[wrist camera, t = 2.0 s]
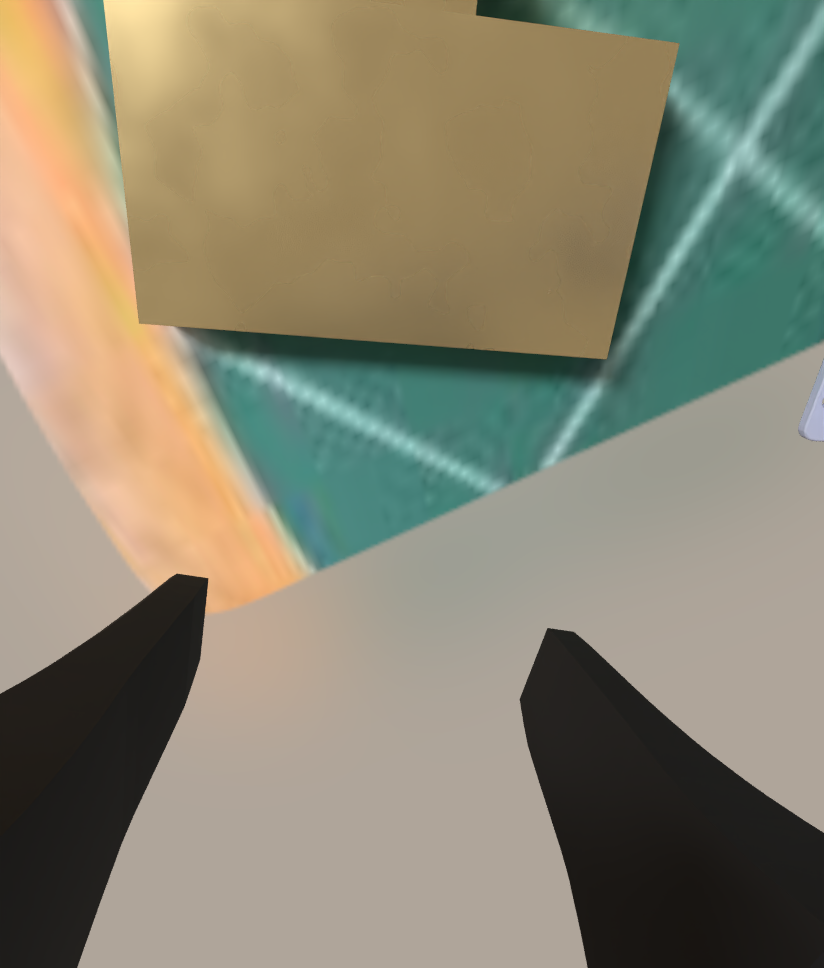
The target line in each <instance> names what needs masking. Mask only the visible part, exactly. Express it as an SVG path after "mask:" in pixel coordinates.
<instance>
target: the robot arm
mask: <svg viewBox="0 0 824 968" xmlns="http://www.w3.org/2000/svg"><path fill="white" fill-rule="evenodd" d="M823 399H824V360H823V362H822V365H821V368H820V370H819V373H818V376H817V378H816V381H815V384H814V386H813V389H812V392H811V394H810V397H809V400H808V402H807V405H806V408H805V411H804V413H803V416H802V418H801V421H800V424H799V428H798V431H799V434H800V435H801V436H802V437H804V438H806V439H808V440H812V441H824V404H823V405H822V400H823ZM207 587H208V578H203V577H196V576H189V575H182V574H176V575H174V576H172V577H171V578H169V579H168V580H167V581H166V582H164V583H163V584H162V585H161V586H159V587H158V588H157V589H156V590H154V591H153V592H152V593H151V594H149V595H148V596H147V597H146V598H145V599H143V600H142V601H141V602H139V603H138V604H137V605H136V606H134V607H133V608H132V609H130V610H129V611H128V612H126V613H125V614H124V615H122V616H121V617H119V618H118V619H117V620H115V621H114V622H113V623H111V624H110V625H109V626H107V627H106V628H104V629H103V630H102V631H101V632H99V633H98V634H96V635H95V636H93V637H92V638H90V639H89V640H87V641H86V642H84V643H83V644H81V645H80V646H78V647H77V648H75V649H74V650H72V651H71V652H69V653H68V654H66V655H65V656H64V657H62V658H60V659H59V660H57V661H56V662H54V663H53V664H51V665H49V666H48V667H46V668H44V669H43V670H41V671H39V672H38V673H36V674H35V675H33V676H31V677H29V678H28V679H26V680H24V681H23V682H21V683H19V684H17V685H15V686H14V687H12V688H10V689H8V690H6V691H5V692H3V693H1V694H0V968H77V966H78V963H79V961H80V958H81V955H82V952H83V949H84V947H85V944H86V941H87V938H88V935H89V932H90V930H91V927H92V924H93V921H94V918H95V915H96V913H97V909H98V907H99V904H100V901H101V899H102V896H103V893H104V890H105V888H106V885H107V882H108V879H109V877H110V874H111V871H112V869H113V866H114V863H115V860H116V857H117V855H118V852H119V849H120V847H121V844H122V841H123V839H124V837H125V834H126V832H127V830H128V827H129V825H130V823H131V820H132V818H133V815H134V814H135V811H136V809H137V807H138V805H139V803H140V801H141V799H142V796H143V794H144V792H145V790H146V788H147V786H148V784H149V781H150V779H151V777H152V775H153V773H154V771H155V769H156V767H157V765H158V762H159V760H160V758H161V756H162V754H163V752H164V750H165V748H166V745H167V743H168V741H169V739H170V737H171V734H172V732H173V730H174V728H175V726H176V724H177V722H178V720H179V717H180V715H181V713H182V710H183V708H184V706H185V703H186V700H187V698H188V695H189V692H190V689H191V686H192V683H193V680H194V677H195V674H196V671H197V667H198V664H199V661H200V656H201V646H202V636H203V626H204V617H205V607H206V597H207ZM520 703H521V710H522V716H523V722H524V728H525V733H526V738H527V743H528V747H529V750H530V753H531V757H532V760H533V764H534V767H535V770H536V773H537V776H538V780H539V783H540V786H541V789H542V792H543V795H544V798H545V802H546V805H547V808H548V811H549V814H550V817H551V820H552V823H553V826H554V830H555V833H556V836H557V839H558V842H559V845H560V848H561V851H562V855H563V859H564V862H565V866H566V869H567V873H568V877H569V880H570V885H571V890H572V894H573V899H574V904H575V908H576V912H577V917H578V922H579V926H580V930H581V936H582V941H583V946H584V951H585V956H586V961H587V967H588V968H824V833H823V832H822V831H820V830H818V829H817V828H815V827H814V826H812V825H810V824H809V823H807V822H806V821H804V820H803V819H801V818H800V817H798V816H797V815H795V814H793V813H792V812H791V811H789V810H788V809H786V808H785V807H783V806H782V805H780V804H779V803H777V802H776V801H774V800H773V799H771V798H769V797H768V796H766V795H765V794H764V793H762V792H761V791H759V790H758V789H757V788H755V787H754V786H752V785H751V784H750V783H748V782H747V781H745V780H744V779H743V778H741V777H740V776H739V775H737V774H736V773H735V772H734V771H732V770H731V769H730V768H728V767H727V766H726V765H724V764H723V763H722V762H720V761H719V760H718V759H716V758H715V757H713V756H712V755H711V754H710V753H709V752H707V751H706V750H705V749H704V748H702V747H701V746H700V745H699V744H697V743H696V742H695V741H694V740H693V739H691V738H690V737H689V736H688V735H687V734H686V733H684V732H683V731H682V730H681V729H680V728H679V727H677V726H676V725H675V724H674V723H673V722H671V721H670V720H669V719H668V718H667V717H666V716H665V715H664V714H663V713H661V712H660V711H659V710H658V709H657V708H656V707H655V706H654V705H652V704H651V703H650V702H649V701H648V700H647V699H646V698H645V697H644V696H643V695H642V694H640V692H638V691H637V690H636V689H635V688H634V687H633V686H632V685H631V684H630V683H629V682H628V681H627V680H626V679H625V678H624V677H623V676H621V675H620V674H619V673H618V672H617V671H616V670H615V669H614V668H613V667H612V666H611V665H610V664H609V663H608V662H607V661H606V660H605V659H604V658H602V657H601V656H600V655H599V654H598V653H597V652H596V651H595V650H594V649H593V648H592V647H591V646H590V645H589V644H587V643H586V642H585V641H584V640H583V639H582V638H580V637H579V636H578V635H577V634H576V633H574V632H571V631H564V630H557V629H550V628H548V629H547V631H546V633H545V636H544V639H543V641H542V644H541V646H540V649H539V652H538V654H537V657H536V659H535V662H534V664H533V667H532V669H531V672H530V674H529V677H528V679H527V682H526V685H525V687H524V690H523V692H522V695H521V698H520Z"/></svg>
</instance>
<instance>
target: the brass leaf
mask: <svg viewBox="0 0 824 968" xmlns="http://www.w3.org/2000/svg"><path fill="white" fill-rule="evenodd" d="M104 8H105V17H106V27H107V36H108V45H109V54H110V63H111V72H112V81H113V90H114V99H115V108H116V118H117V127H118V136H119V145H120V154H121V163H122V172H123V181H124V190H125V199H126V208H127V218H128V227H129V236H130V245H131V254H132V263H133V272H134V281H135V290H136V299H137V309H138V318H139V324H152V325H165V326H178V327H192V328H205V329H218V330H231V331H244V332H257V333H270V334H283V335H296V336H309V337H322V338H335V339H348V340H361V341H374V342H388V343H401V344H414V345H427V346H440V347H453V348H466V349H479V350H492V351H505V352H518V353H531V354H544V355H557V356H570V357H584V358H597V359H607V356H608V352H609V347H610V343H611V339H612V334H613V330H614V326H615V321H616V317H617V313H618V308H619V304H620V300H621V295H622V291H623V286H624V282H625V278H626V273H627V269H628V265H629V260H630V256H631V252H632V247H633V243H634V239H635V234H636V230H637V226H638V221H639V217H640V213H641V208H642V204H643V200H644V195H645V191H646V187H647V182H648V178H649V174H650V169H651V165H652V160H653V156H654V152H655V147H656V143H657V139H658V134H659V130H660V126H661V121H662V117H663V113H664V108H665V104H666V100H667V95H668V91H669V87H670V82H671V78H672V74H673V69H674V65H675V61H676V56H677V52H678V47H679V43H673V42H666V41H659V40H651V39H644V38H637V37H629V36H622V35H615V34H608V33H600V32H593V31H586V30H578V29H571V28H564V27H556V26H549V25H542V24H535V23H527V22H520V21H513V20H505V19H498V18H491V17H483V16H476V8H477V0H104Z"/></svg>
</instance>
